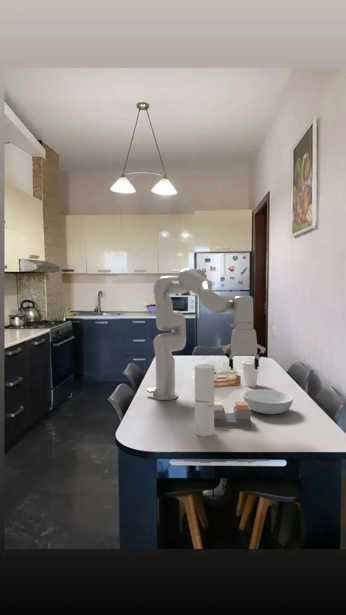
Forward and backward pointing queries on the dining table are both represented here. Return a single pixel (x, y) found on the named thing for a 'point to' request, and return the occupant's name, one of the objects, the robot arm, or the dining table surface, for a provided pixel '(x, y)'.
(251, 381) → the foam cup
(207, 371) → the cylindrical container
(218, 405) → the key ivory
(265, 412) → the serving bowl
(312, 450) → the dining table surface
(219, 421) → the key panel
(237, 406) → the key terracotta
